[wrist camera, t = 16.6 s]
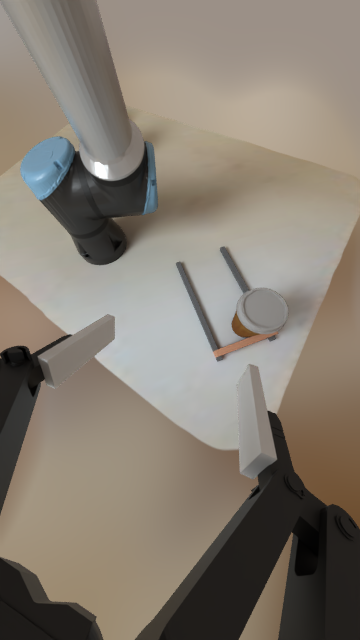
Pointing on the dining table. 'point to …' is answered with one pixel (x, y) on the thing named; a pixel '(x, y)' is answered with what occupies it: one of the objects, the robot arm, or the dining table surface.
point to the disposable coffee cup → (259, 313)
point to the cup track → (216, 351)
